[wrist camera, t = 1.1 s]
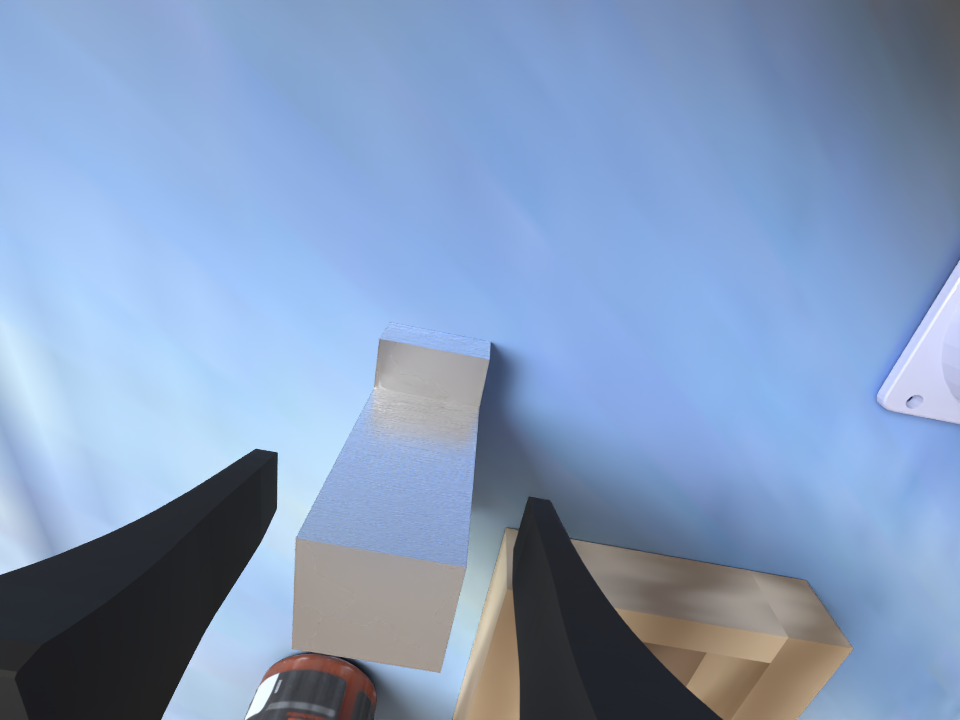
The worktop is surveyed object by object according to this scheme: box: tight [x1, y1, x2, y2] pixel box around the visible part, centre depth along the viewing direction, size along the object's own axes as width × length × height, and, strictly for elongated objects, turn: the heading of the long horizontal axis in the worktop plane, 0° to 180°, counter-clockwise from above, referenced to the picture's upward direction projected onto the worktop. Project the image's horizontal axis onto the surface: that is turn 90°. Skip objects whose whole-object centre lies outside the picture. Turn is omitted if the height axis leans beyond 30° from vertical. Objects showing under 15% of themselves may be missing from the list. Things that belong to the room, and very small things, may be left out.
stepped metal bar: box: [292, 322, 491, 673], centre depth 14 cm, size 4×7×8 cm, turn 169°
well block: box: [452, 528, 854, 720], centre depth 21 cm, size 13×14×3 cm
